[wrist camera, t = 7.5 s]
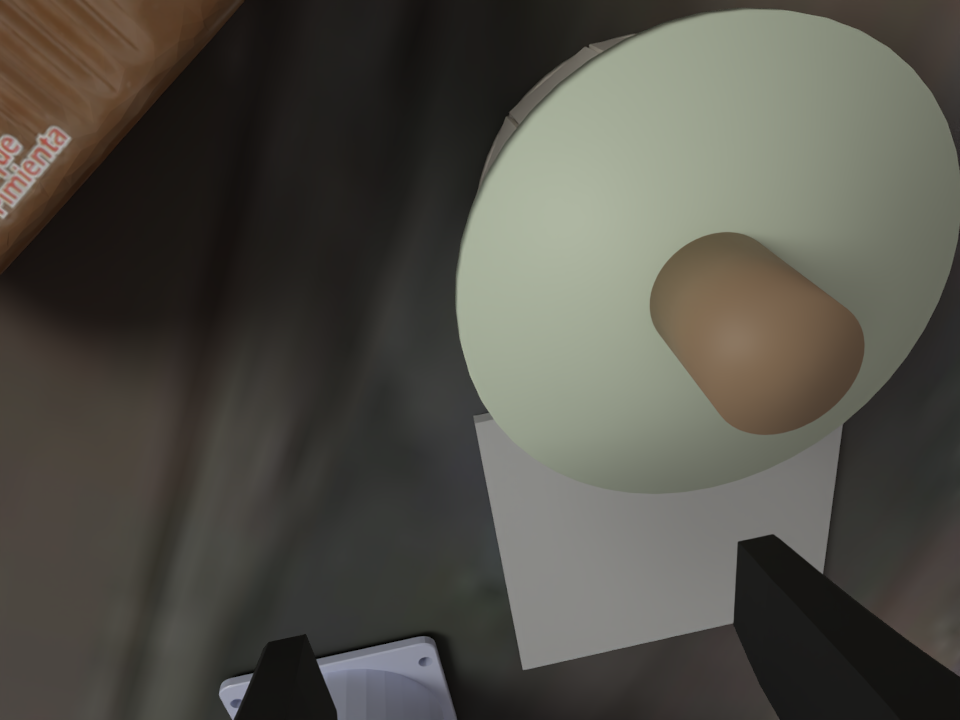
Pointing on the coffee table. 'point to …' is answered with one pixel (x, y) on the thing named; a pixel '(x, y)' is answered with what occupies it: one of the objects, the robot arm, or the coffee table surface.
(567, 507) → the mat
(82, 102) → the tin
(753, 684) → the coffee table surface
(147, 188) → the coffee table surface
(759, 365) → the lid
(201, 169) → the coffee table surface
